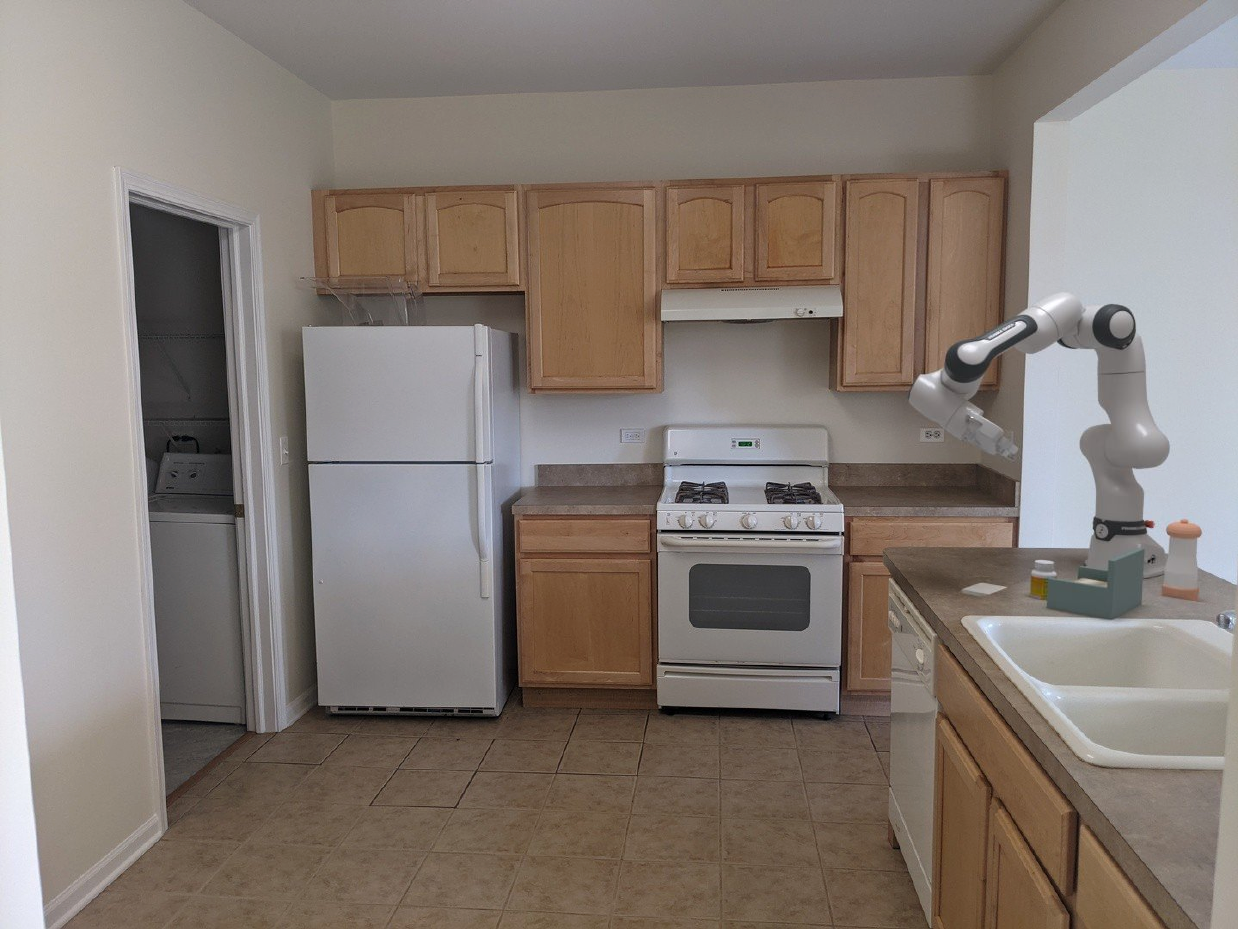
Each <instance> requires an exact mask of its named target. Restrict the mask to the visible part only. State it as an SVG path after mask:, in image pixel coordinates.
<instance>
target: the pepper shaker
mask: <svg viewBox="0 0 1238 929" xmlns="http://www.w3.org/2000/svg"><path fill="white" fill-rule="evenodd" d="M1165 531H1166V534H1167V535H1168V536H1169V539H1168V540H1169V541H1168V552H1167V554H1168V555H1167V559H1166V561H1165V564H1166V566H1165V573H1164V574H1163V575H1164V578H1163V583H1162V584H1161V597H1166V598H1172V599H1178V600H1184V601H1191V602H1195V603H1196V602H1197V603H1198V602H1199V594H1200V592H1199V591H1200V589H1199V587H1198V581H1199V580H1198V579H1199V568H1198V560H1197V554H1198V552H1197V549H1198V539H1199V538H1200V537H1202V534H1203V530H1202V528H1201V527H1200V525H1198V524H1195V523H1193V522H1189V520H1188V519H1185V518H1182V519H1180V520H1179V521H1175V522H1171V523H1169V524H1168V525H1167V526H1166V528H1165Z"/></svg>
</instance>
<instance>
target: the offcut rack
mask: <svg viewBox="0 0 1238 929" xmlns="http://www.w3.org/2000/svg"><path fill="white" fill-rule="evenodd" d="M1144 553H1145V549H1142V548H1138V549H1135V550H1133V551H1130V552H1128V553H1125V554H1123V555H1120V556H1118V557H1115V558H1113V559H1110V560H1108V570H1104V569H1097V568H1091V567H1086V566H1082V565H1080V566H1079V565H1078V570H1077V580H1078V579H1081V578H1085V579H1091V580H1097V581H1103V582H1107V587H1104V586H1098V585H1092V584H1085V583H1079V582H1073V581H1074V580H1073V581H1071V580H1066V579H1059V578H1057V579H1055V578H1048V588H1047V600H1046V608H1047V609H1051V610H1057V611H1060V612H1066V613H1073V614H1077V615H1082V616H1089V617H1093V618H1098V619H1104V620H1110V621H1112V620H1114V619H1116V618H1119V617H1120V616H1122V615H1123V614H1126V613H1128V612H1129V611H1131V610H1133V609H1135V608H1137V607H1139V606H1141V605H1142V602H1143V601H1142V599H1143V584H1144V582H1143V581H1144V578H1143V570H1144Z"/></svg>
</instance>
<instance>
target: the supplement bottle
mask: <svg viewBox="0 0 1238 929" xmlns="http://www.w3.org/2000/svg"><path fill="white" fill-rule="evenodd" d="M1034 567H1035V569H1032V570H1031V574H1030V589H1029V590H1030V592H1029V593H1030V594H1029V596H1030V597H1031V598H1033V599H1038V600H1045V601H1047V588H1048V578H1055V579H1058V574H1057V572H1056V571H1054V569H1055V568H1054V567H1055V562H1054V561H1052V560H1045V559H1038V560H1037V559H1036V560H1035V561H1034Z"/></svg>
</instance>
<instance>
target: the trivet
mask: <svg viewBox="0 0 1238 929" xmlns="http://www.w3.org/2000/svg"><path fill="white" fill-rule="evenodd" d="M1007 588H1008V587H1007V586H1002V585H998V584H997V585H996V584H991V583H986V582H979V583H976V584H973V585H970V586H968V587H964V588H962V589H961V594H963V595H964V594H965V595H969V596H975V597H979V598H984V597H986V596H989V595H991V594H993V593H996V592H998V591H1002V590H1005V589H1007Z"/></svg>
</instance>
